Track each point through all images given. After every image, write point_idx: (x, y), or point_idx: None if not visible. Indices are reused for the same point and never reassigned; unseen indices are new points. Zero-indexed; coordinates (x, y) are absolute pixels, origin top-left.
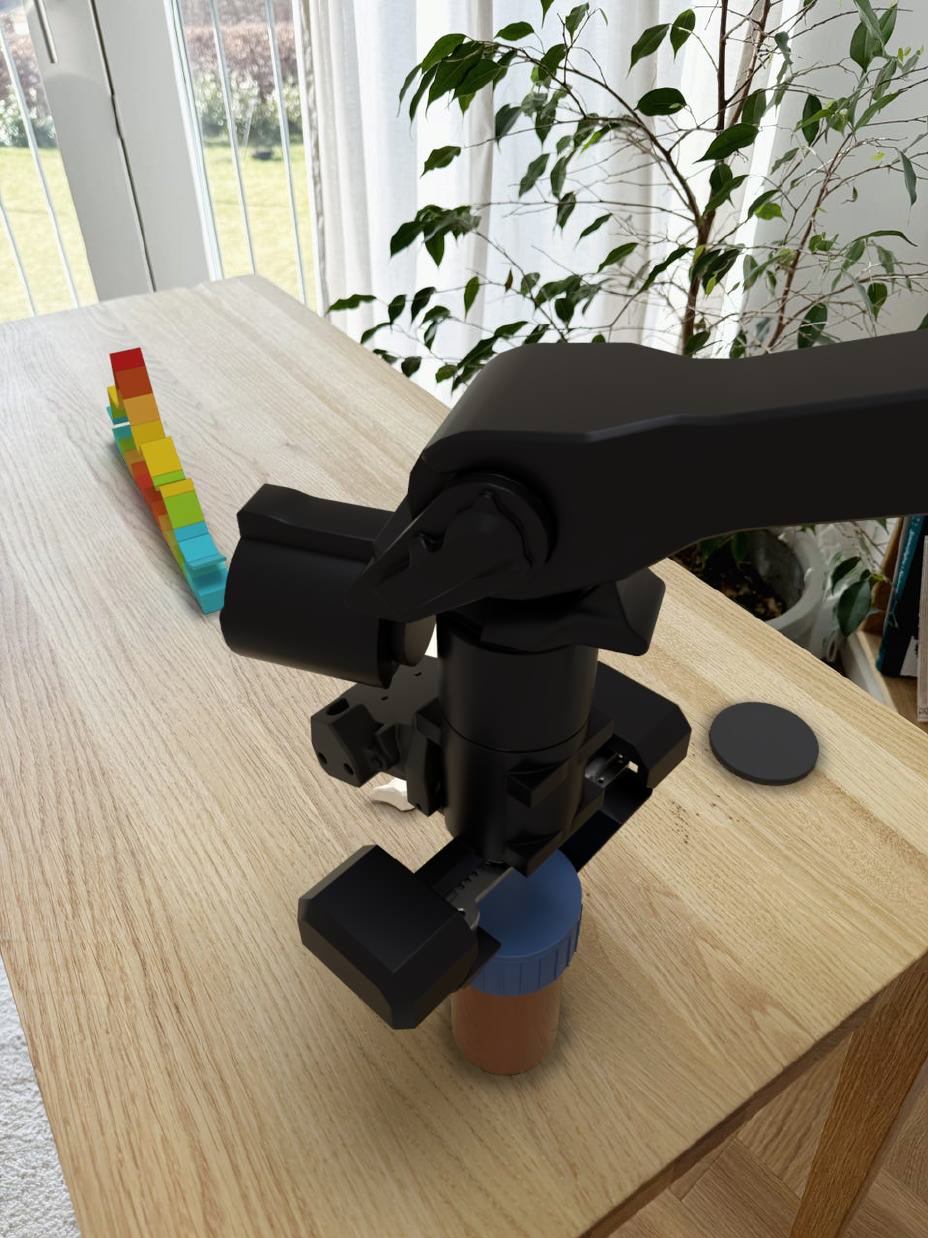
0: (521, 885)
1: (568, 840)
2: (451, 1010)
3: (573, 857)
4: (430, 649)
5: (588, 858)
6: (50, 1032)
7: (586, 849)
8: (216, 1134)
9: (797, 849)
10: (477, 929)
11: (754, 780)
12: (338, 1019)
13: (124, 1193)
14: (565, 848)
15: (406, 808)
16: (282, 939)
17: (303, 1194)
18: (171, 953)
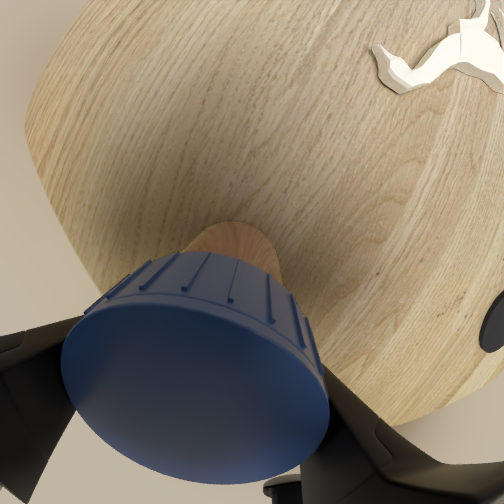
0: (206, 440)
1: (320, 480)
2: (197, 236)
3: (307, 465)
4: (501, 59)
5: (302, 490)
6: (82, 15)
7: (308, 498)
8: (66, 134)
9: (440, 369)
10: (6, 488)
11: (482, 330)
12: (161, 140)
13: (32, 121)
14: (316, 460)
15: (381, 79)
16: (200, 55)
17: (67, 206)
18: (151, 11)
